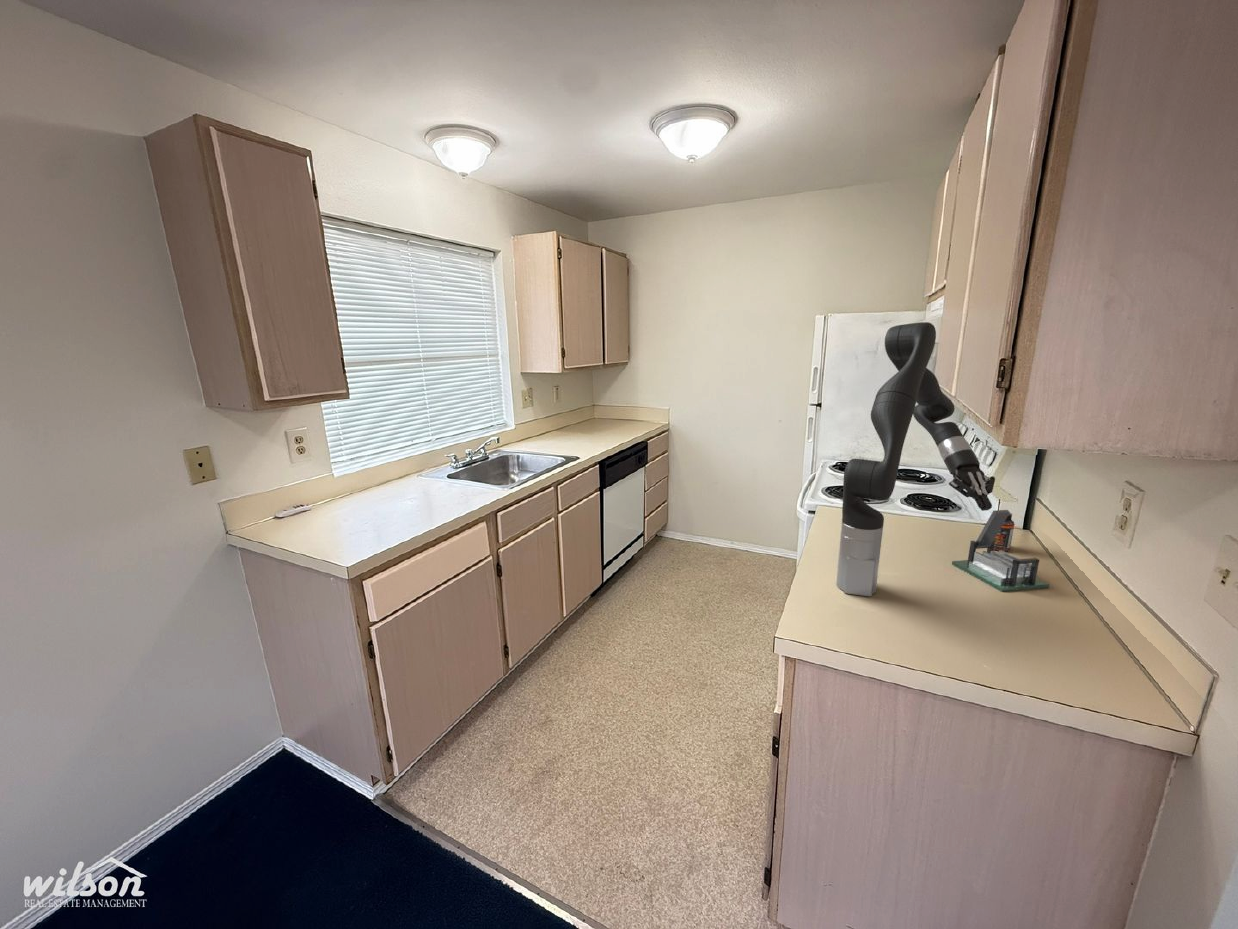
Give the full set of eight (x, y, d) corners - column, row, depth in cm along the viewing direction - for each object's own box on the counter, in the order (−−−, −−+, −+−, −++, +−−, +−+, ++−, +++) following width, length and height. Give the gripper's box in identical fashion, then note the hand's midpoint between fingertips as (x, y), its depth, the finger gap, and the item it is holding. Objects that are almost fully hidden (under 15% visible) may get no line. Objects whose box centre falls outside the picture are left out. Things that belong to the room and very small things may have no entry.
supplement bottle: (983, 548, 148) (989, 512, 145) (986, 542, 152) (992, 508, 149) (1008, 553, 144) (1015, 517, 141) (1010, 547, 148) (1017, 512, 145)
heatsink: (951, 564, 137) (955, 539, 136) (994, 561, 139) (998, 536, 137) (1001, 591, 122) (1006, 563, 120) (1048, 587, 123) (1054, 559, 122)
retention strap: (972, 546, 136) (992, 510, 129) (985, 545, 136) (1006, 509, 129) (976, 549, 134) (996, 513, 128) (989, 548, 135) (1010, 512, 128)
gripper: (945, 449, 138) (974, 504, 129) (987, 447, 139) (1019, 501, 130) (928, 463, 144) (955, 516, 135) (970, 461, 146) (999, 514, 137)
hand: (987, 509), depth 133 cm, fingers closed
